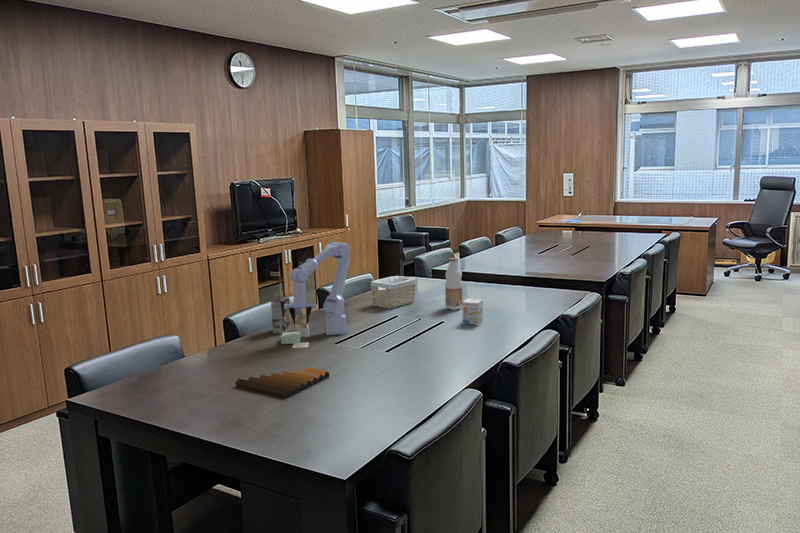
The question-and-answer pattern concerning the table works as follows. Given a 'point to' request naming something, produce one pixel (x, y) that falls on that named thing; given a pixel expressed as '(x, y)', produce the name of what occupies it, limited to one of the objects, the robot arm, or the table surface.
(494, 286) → the table surface
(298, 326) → the maple cube
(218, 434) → the table surface
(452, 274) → the fruit juice
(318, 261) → the robot arm
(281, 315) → the coffee box
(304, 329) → the grey cube
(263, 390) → the pan flute
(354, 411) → the table surface
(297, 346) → the card
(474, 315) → the ink box
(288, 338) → the base block
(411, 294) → the storage basket
